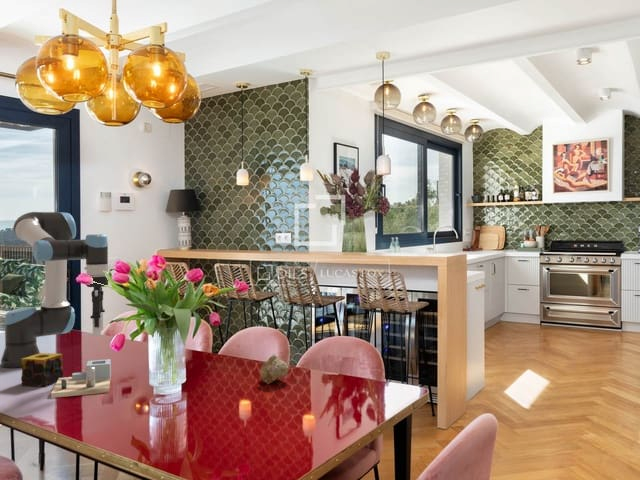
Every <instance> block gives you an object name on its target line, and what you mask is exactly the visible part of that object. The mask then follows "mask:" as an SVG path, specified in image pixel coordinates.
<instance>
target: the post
mask: <svg viewBox="0 0 640 480" xmlns="http://www.w3.org/2000/svg"><path fill="white" fill-rule="evenodd" d="M85 372H86V387H87V388H90V387H95V367H87V368H86V367H85Z"/></svg>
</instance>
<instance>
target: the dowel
mask: <svg viewBox="0 0 640 480" xmlns="http://www.w3.org/2000/svg"><path fill="white" fill-rule="evenodd" d="M61 386H62V389H66V388H67V380H66V379H63V380H61Z"/></svg>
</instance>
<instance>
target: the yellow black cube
mask: <svg viewBox="0 0 640 480" xmlns="http://www.w3.org/2000/svg"><path fill="white" fill-rule="evenodd" d="M21 360H22V367H21V377H20V379H21V386H24V387H40V388H41V387H42V388H46V387H48V386H50V385H53V384H56V383H57V381H58V379H59V378H63V376H64V373H63V371H64V369H63V354H62V353H46V352H45V353H42V352H40V353H39V354H36V355H32V356H29V357H26V358H22V359H21Z"/></svg>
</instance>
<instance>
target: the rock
mask: <svg viewBox="0 0 640 480" xmlns="http://www.w3.org/2000/svg"><path fill="white" fill-rule="evenodd" d="M290 369H291V367H290V366H289V365H288V363H287V362H286V361H284V360H283V358H280V357H279V356H278V355H276V354H275V353H273V354H272V355H271V356H270V357H269V358H268V360H267V361H266V362H264V363H262V365H261V368H260V371H259V375H260V377H261V380H262V381H263V382H264V383H266V384H268V385H270V384H271V383H273V382H274V381H276V380H279V379H280V378H281V379H283V378H285V377H286V376H288V371H289V370H290Z"/></svg>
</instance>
